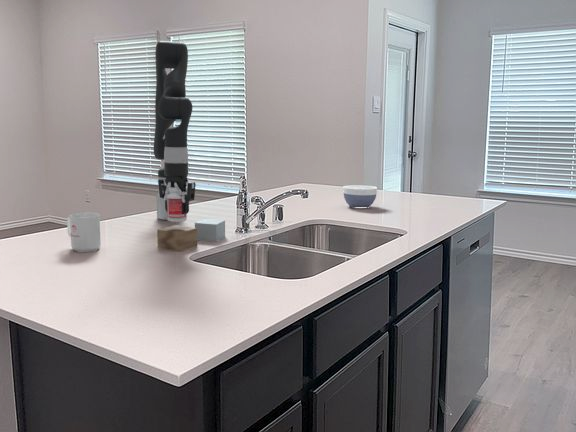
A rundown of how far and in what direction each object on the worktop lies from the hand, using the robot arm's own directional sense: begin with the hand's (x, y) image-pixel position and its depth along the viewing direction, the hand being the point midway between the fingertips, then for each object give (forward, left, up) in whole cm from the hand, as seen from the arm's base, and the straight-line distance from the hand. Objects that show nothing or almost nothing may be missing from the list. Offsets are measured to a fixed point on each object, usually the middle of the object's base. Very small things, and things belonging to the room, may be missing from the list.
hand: (177, 212), depth 190 cm
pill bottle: (0, 0, -3) cm, 3 cm away
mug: (-23, -19, -12) cm, 32 cm away
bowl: (+17, +109, -12) cm, 111 cm away
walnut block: (0, 0, -11) cm, 11 cm away
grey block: (+1, +16, -11) cm, 20 cm away
